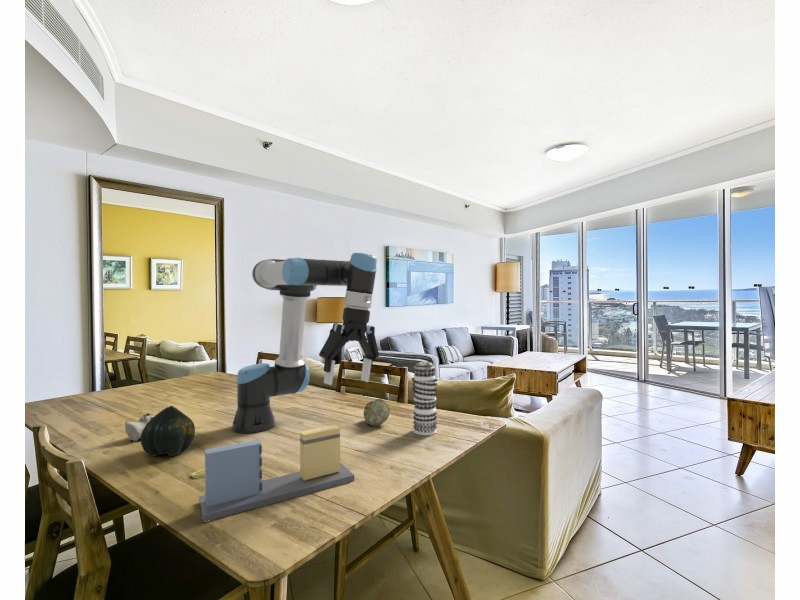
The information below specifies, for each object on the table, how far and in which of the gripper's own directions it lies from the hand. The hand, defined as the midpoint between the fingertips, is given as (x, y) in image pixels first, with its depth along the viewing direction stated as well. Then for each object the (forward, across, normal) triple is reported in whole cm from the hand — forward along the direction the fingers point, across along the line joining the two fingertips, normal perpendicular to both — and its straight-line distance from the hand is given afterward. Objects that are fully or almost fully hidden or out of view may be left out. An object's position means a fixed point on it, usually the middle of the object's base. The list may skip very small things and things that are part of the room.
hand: (347, 382), depth 110 cm
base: (+27, -16, +1) cm, 31 cm away
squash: (+33, -26, +50) cm, 66 cm away
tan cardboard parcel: (+24, -7, -2) cm, 25 cm away
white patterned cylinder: (+21, +42, +1) cm, 47 cm away
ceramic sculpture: (+36, -26, +72) cm, 84 cm away
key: (+31, -24, +23) cm, 45 cm away
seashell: (+24, +37, +21) cm, 49 cm away
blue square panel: (+27, -27, +4) cm, 38 cm away
